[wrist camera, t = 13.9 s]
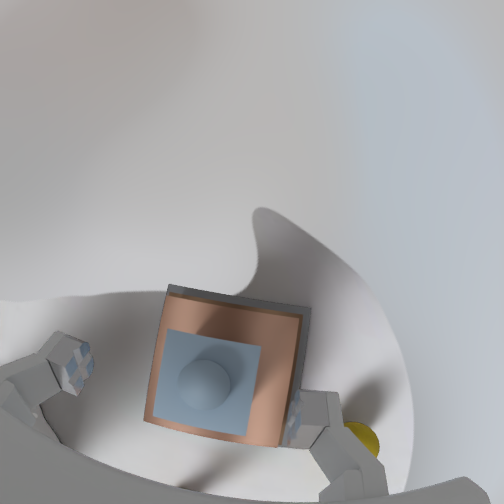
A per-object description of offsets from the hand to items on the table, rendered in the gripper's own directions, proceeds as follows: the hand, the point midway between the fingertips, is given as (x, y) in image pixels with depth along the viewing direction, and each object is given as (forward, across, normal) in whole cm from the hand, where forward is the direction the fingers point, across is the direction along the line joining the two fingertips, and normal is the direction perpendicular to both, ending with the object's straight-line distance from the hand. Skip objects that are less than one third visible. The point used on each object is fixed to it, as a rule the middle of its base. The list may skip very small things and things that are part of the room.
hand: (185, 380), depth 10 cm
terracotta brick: (+14, -1, +15) cm, 20 cm away
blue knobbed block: (+8, -1, +9) cm, 12 cm away
